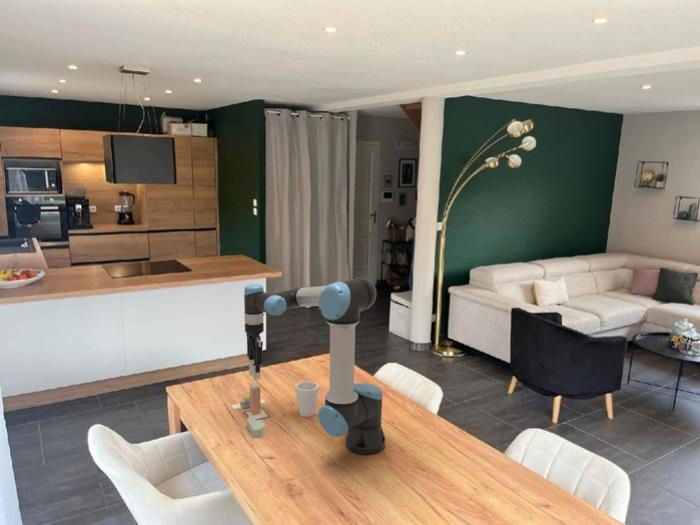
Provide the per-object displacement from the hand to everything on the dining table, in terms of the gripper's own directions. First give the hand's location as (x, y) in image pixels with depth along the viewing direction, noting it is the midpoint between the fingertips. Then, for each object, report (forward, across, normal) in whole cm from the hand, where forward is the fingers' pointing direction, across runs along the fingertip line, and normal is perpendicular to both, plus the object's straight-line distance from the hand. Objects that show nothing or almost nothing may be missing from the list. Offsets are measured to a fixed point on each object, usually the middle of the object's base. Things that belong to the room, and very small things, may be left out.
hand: (254, 376), depth 214 cm
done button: (+13, +8, +1) cm, 15 cm away
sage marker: (+16, -15, +6) cm, 22 cm away
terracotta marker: (+16, 0, 0) cm, 16 cm away
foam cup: (+17, -10, -19) cm, 27 cm away
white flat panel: (+17, -3, 0) cm, 17 cm away
